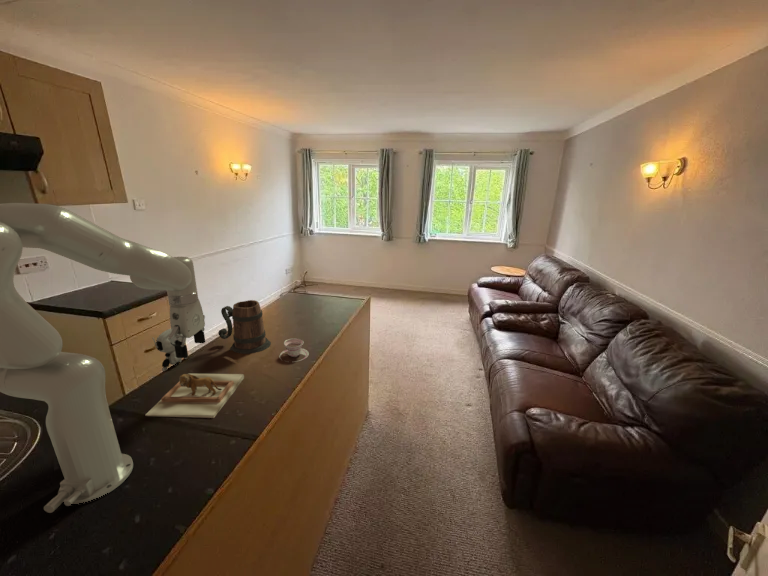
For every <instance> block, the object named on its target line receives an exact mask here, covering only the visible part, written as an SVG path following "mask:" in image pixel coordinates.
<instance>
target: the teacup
mask: <svg viewBox="0 0 768 576" xmlns="http://www.w3.org/2000/svg"><path fill="white" fill-rule="evenodd" d="M304 344H305V342H304V340H303V339H301V338H295V337H294V338H289V339H286V340H284V342H283V346H284V347H285V348H286V349H285V350H283V351H282V352H280V354H279V356H278V357H279V359H280V360H281V361H283V360H282V358H281V356H282V355H283V354H284V353H287V355H288V356H290V357H291V358H297V357H298V356H300V355H303V356H304V357H303V358H301V359H300V360H295V361H293V363H297V362H301V361H304V360H306V359H307V358H308V357H309V354H310V353H309V351H308V350H307V349H305V348H302V347H303V345H304ZM285 362H286V363H288V361H286V360H285Z"/></svg>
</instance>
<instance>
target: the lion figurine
mask: <svg viewBox="0 0 768 576" xmlns="http://www.w3.org/2000/svg"><path fill="white" fill-rule="evenodd" d="M191 374H192V373H183V374H181V375H180V376H179V381H180V383H179V384H180V385H181V386H186V387H187V388H191V389H192V391H193V393H192V395H195V394H196V390H197V387H203V386H205V385H206V387H207V388H208V389H209V390H212V391H213V393H212V394H213V395H214V394H216V391H215V389H214V388H213V386H212V384H214V386H215V387H216V389H218V390H222V389H220V388H217V386H216V384H215V383H214V381H213V380H212V378H209V377H206V378H197V377H196V376H194V375H191Z"/></svg>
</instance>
